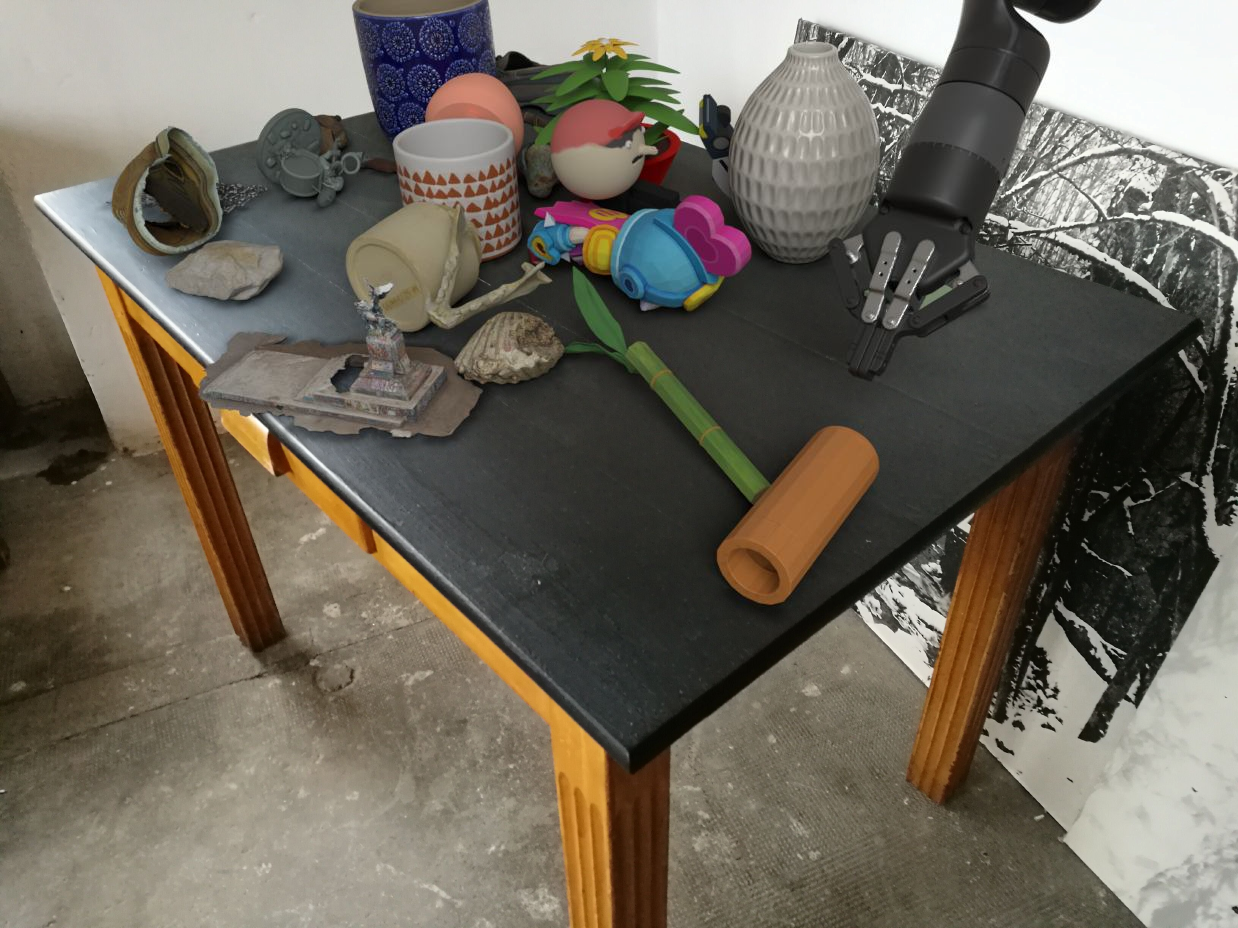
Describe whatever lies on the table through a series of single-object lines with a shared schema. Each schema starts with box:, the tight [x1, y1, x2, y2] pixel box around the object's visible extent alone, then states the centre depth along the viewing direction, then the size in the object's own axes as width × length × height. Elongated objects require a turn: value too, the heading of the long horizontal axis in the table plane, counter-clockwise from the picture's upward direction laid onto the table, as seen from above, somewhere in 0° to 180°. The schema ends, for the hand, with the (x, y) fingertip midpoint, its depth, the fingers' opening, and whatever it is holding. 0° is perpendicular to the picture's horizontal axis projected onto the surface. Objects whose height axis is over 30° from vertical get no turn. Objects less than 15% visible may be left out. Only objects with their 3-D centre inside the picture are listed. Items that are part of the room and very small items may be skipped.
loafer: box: [496, 50, 604, 117], centre depth 148 cm, size 11×30×9 cm, turn 59°
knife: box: [360, 156, 397, 174], centre depth 126 cm, size 28×1×5 cm
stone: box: [164, 239, 285, 301], centre depth 104 cm, size 14×6×10 cm
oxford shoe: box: [111, 125, 223, 257], centre depth 113 cm, size 28×10×11 cm
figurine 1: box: [254, 107, 366, 208], centre depth 123 cm, size 11×11×12 cm
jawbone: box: [425, 203, 553, 330], centre depth 87 cm, size 12×13×8 cm
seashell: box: [454, 311, 565, 385], centre depth 87 cm, size 11×7×10 cm
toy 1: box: [550, 99, 658, 200], centre depth 97 cm, size 10×12×10 cm
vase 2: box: [392, 118, 523, 263], centre depth 108 cm, size 14×14×13 cm
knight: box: [526, 194, 752, 312], centre depth 96 cm, size 12×14×30 cm
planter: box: [351, 0, 498, 147], centre depth 129 cm, size 18×18×21 cm
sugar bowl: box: [345, 202, 482, 333], centre depth 98 cm, size 15×11×15 cm
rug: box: [105, 181, 268, 217], centre depth 126 cm, size 10×20×1 cm, turn 72°
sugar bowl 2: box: [425, 73, 525, 158], centre depth 115 cm, size 12×14×10 cm
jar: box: [716, 425, 880, 606], centre depth 68 cm, size 6×6×15 cm
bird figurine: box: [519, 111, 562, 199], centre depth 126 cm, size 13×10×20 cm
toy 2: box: [593, 178, 682, 216], centre depth 104 cm, size 8×4×15 cm
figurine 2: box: [313, 114, 348, 161], centre depth 139 cm, size 14×4×9 cm
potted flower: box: [530, 37, 699, 203], centre depth 111 cm, size 24×25×20 cm
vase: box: [728, 41, 881, 264], centre depth 99 cm, size 16×16×22 cm
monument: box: [197, 278, 484, 438], centre depth 85 cm, size 30×16×13 cm, turn 73°
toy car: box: [698, 93, 734, 200], centre depth 110 cm, size 5×16×5 cm
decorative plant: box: [563, 265, 772, 506], centre depth 81 cm, size 6×8×30 cm
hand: (859, 376), depth 68 cm, fingers closed
